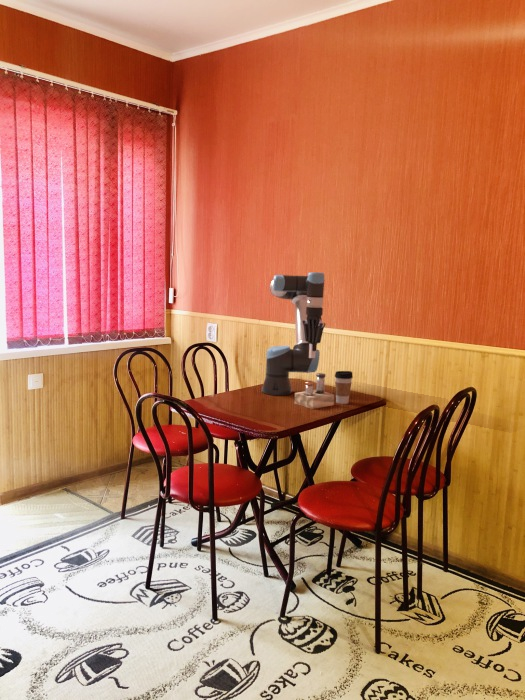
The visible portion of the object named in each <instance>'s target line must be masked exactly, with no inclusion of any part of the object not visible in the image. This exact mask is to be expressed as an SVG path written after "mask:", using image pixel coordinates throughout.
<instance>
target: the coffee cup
mask: <svg viewBox="0 0 525 700" xmlns="http://www.w3.org/2000/svg"><path fill="white" fill-rule="evenodd" d="M334 377H335V380H334V381H335V382H334V383H335V385H334V386H335V402H336V404H340V405H341V404H342V405H343V404H344V405H346V404H349V402H350V401H349V400H350V393H351V387H352V383H353V382H352V379H353V371H351V370H338V371H335V374H334Z"/></svg>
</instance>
